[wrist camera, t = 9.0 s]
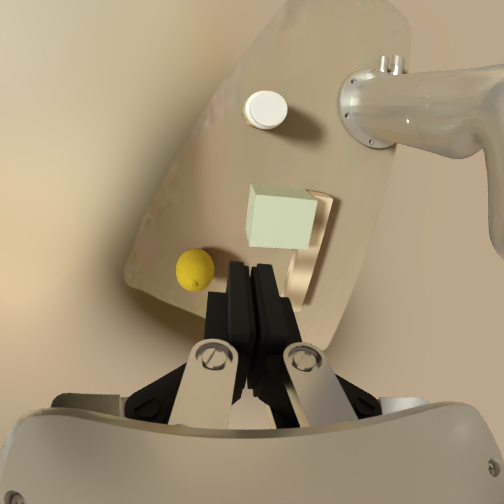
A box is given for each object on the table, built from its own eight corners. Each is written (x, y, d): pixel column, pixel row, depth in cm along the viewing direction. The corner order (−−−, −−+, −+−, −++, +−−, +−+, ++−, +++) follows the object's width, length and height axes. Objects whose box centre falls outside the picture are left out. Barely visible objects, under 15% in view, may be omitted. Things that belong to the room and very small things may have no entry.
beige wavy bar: (307, 189, 39) (313, 195, 36) (325, 192, 40) (333, 198, 37) (280, 300, 48) (283, 310, 45) (296, 300, 48) (300, 311, 46)
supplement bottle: (283, 114, 34) (300, 113, 26) (257, 135, 35) (267, 139, 27) (260, 88, 32) (271, 79, 24) (233, 109, 33) (237, 106, 25)
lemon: (220, 249, 42) (221, 278, 35) (204, 276, 44) (202, 307, 37) (188, 234, 40) (182, 260, 33) (173, 262, 42) (166, 291, 35)
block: (250, 183, 38) (255, 194, 33) (304, 188, 39) (317, 200, 34) (245, 228, 41) (249, 246, 36) (296, 232, 42) (307, 249, 37)
